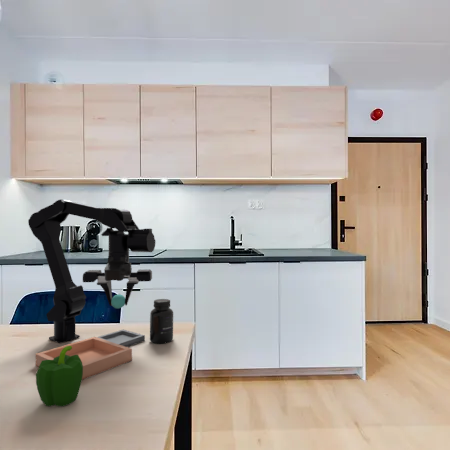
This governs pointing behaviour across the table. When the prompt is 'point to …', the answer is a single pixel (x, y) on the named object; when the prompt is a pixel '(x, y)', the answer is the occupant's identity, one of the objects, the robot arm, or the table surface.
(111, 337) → the tray
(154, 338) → the supplement bottle
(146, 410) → the table surface
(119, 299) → the ball
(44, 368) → the bell pepper
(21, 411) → the table surface
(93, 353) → the dish
